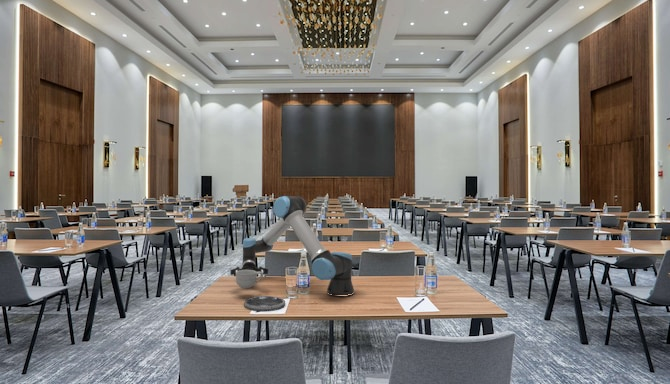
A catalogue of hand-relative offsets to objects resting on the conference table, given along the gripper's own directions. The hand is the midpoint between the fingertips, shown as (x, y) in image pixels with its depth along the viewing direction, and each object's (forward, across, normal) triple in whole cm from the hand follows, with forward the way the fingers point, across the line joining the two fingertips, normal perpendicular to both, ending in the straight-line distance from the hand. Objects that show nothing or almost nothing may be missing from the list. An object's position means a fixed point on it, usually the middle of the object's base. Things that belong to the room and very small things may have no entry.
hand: (249, 274), depth 222 cm
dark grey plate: (+18, -7, -12) cm, 23 cm away
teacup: (+2, 0, -6) cm, 6 cm away
